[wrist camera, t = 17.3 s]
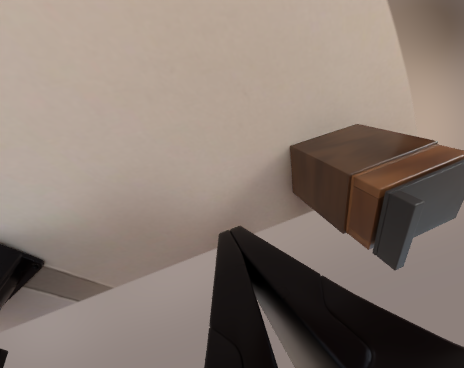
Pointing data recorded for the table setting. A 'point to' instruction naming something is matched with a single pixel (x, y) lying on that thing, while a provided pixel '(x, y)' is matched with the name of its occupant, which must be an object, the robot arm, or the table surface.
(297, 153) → the cabinet body
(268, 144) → the table surface
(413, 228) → the lid
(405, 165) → the tray
